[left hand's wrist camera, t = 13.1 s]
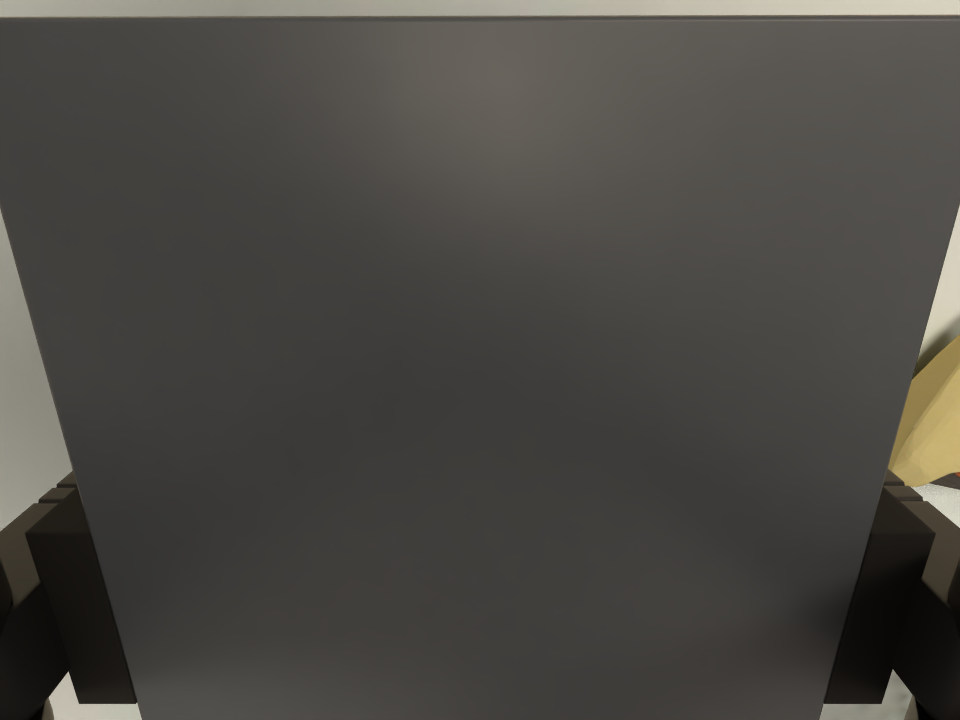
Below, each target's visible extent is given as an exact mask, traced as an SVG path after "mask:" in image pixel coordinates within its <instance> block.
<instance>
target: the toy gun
mask: <svg viewBox="0 0 960 720" xmlns="http://www.w3.org/2000/svg"><path fill="white" fill-rule="evenodd" d="M888 469H889V470H890V471H892V472H893V473H894V474H895V475H896V476H898V477H899V478H900V479H901V480H902V481H904V484H905V485H906V486H910V487H918V486H922V485H925V484H927V483H931V484H935V485H940V486H945V487H950V488H955V489H960V335H958V336H957V337H956V338H955V339H954V340H953V341H952V342H950V343H949V344H948V345H947V346H946V347H945V348H944V349H943V350H942V351H941V352H939V353H938V354H937V355H936V356H935V357H934V358H933V359H932V360H931V361H930V362H929V363H928V364H927V365H926V366H925V367H924V368H923V369H922V370H921V371H920V372H919V373H918V374H917V375H916V376H915V377H914V378H913V380H912V381H911V385H910V388H909V392H908V396H907V399H906V403H905V407H904V410H903V414H902V418H901V421H900V425H899V429H898V432H897V436H896V440H895V443H894V447H893V451H892V454H891V458H890V462H889V465H888Z"/></svg>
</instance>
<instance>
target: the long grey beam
mask: <svg viewBox="0 0 960 720" xmlns="http://www.w3.org/2000/svg"><path fill="white" fill-rule="evenodd" d="M959 205H960V15H664V16H221V17H0V209H1V212H2V216H3V219H4V223H5V227H6V230H7V234H8V237H9V241H10V245H11V248H12V252H13V256H14V259H15V263H16V266H17V270H18V274H19V277H20V281H21V284H22V288H23V292H24V295H25V299H26V302H27V306H28V310H29V313H30V317H31V320H32V324H33V328H34V331H35V335H36V339H37V342H38V346H39V349H40V353H41V357H42V360H43V364H44V367H45V371H46V375H47V378H48V382H49V385H50V389H51V393H52V396H53V400H54V403H55V407H56V411H57V414H58V418H59V422H60V425H61V429H62V432H63V436H64V440H65V443H66V447H67V450H68V454H69V458H70V461H71V465H72V468H73V472H74V476H75V479H76V483H77V486H78V490H79V494H80V497H81V501H82V505H83V508H84V512H85V515H86V519H87V523H88V526H89V530H90V533H91V537H92V541H93V544H94V548H95V551H96V555H97V559H98V562H99V566H100V569H101V573H102V577H103V580H104V584H105V588H106V591H107V595H108V598H109V602H110V606H111V609H112V613H113V616H114V620H115V624H116V627H117V631H118V634H119V638H120V642H121V645H122V649H123V652H124V656H125V660H126V663H127V667H128V670H129V674H130V678H131V681H132V685H133V689H134V692H135V696H136V699H137V703H138V707H139V710H140V714H141V717H142V720H819V718H820V715H821V711H822V707H823V704H824V700H825V696H826V693H827V689H828V685H829V682H830V678H831V674H832V671H833V667H834V663H835V660H836V656H837V652H838V649H839V645H840V641H841V638H842V634H843V630H844V627H845V623H846V619H847V616H848V612H849V608H850V605H851V601H852V597H853V594H854V590H855V586H856V583H857V579H858V575H859V572H860V568H861V564H862V561H863V557H864V553H865V550H866V546H867V542H868V539H869V535H870V531H871V528H872V524H873V520H874V517H875V513H876V509H877V506H878V502H879V498H880V495H881V491H882V487H883V484H884V480H885V476H886V473H887V469H888V465H889V462H890V458H891V454H892V451H893V447H894V443H895V440H896V436H897V432H898V429H899V425H900V421H901V418H902V414H903V410H904V407H905V403H906V399H907V396H908V392H909V388H910V385H911V381H912V377H913V374H914V370H915V366H916V363H917V359H918V355H919V352H920V348H921V344H922V341H923V337H924V333H925V330H926V326H927V322H928V319H929V315H930V311H931V308H932V304H933V300H934V297H935V293H936V289H937V286H938V282H939V278H940V275H941V271H942V267H943V264H944V260H945V256H946V253H947V249H948V245H949V242H950V238H951V234H952V231H953V227H954V223H955V220H956V216H957V212H958V209H959Z"/></svg>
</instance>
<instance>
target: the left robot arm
mask: <svg viewBox="0 0 960 720" xmlns="http://www.w3.org/2000/svg"><path fill="white" fill-rule="evenodd" d="M892 669H893V670H894V671H895V672H896V673H897V675H898V676H899V677H900V679H901V680H902V681H903V683H904V684H905V685H906V687H907V688H908V689H909V690H910V692H911V693H912V694H913V695H912V698H911V701H910V704H909V707H908V710H907V713H906V716H905V719H904V720H960V528H959V527H958V526H957V525H955V524H954V523H953V522H952V521H951V520H949V519H948V518H947V517H946V516H945V515H943V514H942V513H941V512H940V511H939V510H937V509H936V508H935V507H934V506H932V505H931V504H930V503H929V502H928V501H923V497H922V496H920V495H919V494H918V493H917V492H916V491H914V490H913V489H912V488H911V487H910V486H905V484H904V481H902V480H901V479H900V478H899V477H898V476H896V475H895V474H894V473H893V472H892V471H890V470H889V469H887V473H886V476H885V480H884V484H883V487H882V491H881V495H880V498H879V502H878V506H877V509H876V513H875V517H874V520H873V524H872V528H871V531H870V535H869V539H868V542H867V546H866V550H865V553H864V557H863V561H862V564H861V568H860V572H859V575H858V579H857V583H856V586H855V590H854V594H853V597H852V601H851V605H850V608H849V612H848V616H847V619H846V623H845V627H844V630H843V634H842V638H841V641H840V645H839V649H838V652H837V656H836V660H835V663H834V667H833V671H832V674H831V678H830V682H829V685H828V689H827V693H826V696H825V700H824V704H882V700H883V697H884V694H885V691H886V688H887V685H888V682H889V679H890V676H891V672H892ZM68 671H69V674H70V677H71V680H72V683H73V686H74V689H75V693H76V696H77V699H78V702H79V704H136V703H137V699H136V696H135V692H134V689H133V685H132V681H131V678H130V674H129V670H128V667H127V663H126V660H125V656H124V652H123V649H122V645H121V642H120V638H119V634H118V631H117V627H116V624H115V620H114V616H113V613H112V609H111V606H110V602H109V598H108V595H107V591H106V588H105V584H104V580H103V577H102V573H101V569H100V566H99V562H98V559H97V555H96V551H95V548H94V544H93V541H92V537H91V533H90V530H89V526H88V523H87V519H86V515H85V512H84V508H83V505H82V501H81V497H80V494H79V490H78V486H77V483H76V479H75V476H74V472H73V471H72V472H71V473H70V474H69V475H67V476H66V477H65V478H64V479H63V480H61V481H60V482H59V483H58V484H57V487H56V488H52V489H51V490H49V491H48V492H47V493H46V494H45V495H44V496H42V497H41V498H40V499H39V502H38V504H33V505H32V506H30V507H29V508H28V509H27V510H26V511H24V512H23V513H22V514H21V515H20V516H18V517H17V518H16V519H15V520H14V521H13V522H11V523H10V524H9V525H8V526H7V527H5V528H4V529H3V530H2V531H1V532H0V720H54V715H53V710H52V707H51V704H50V701H49V698H48V697H49V696H50V695H51V693H52V692H53V691H54V689H55V688H56V687H57V685H58V684H59V683H60V681H61V680H62V679H63V678H64V676H65V675H66V674H67V672H68Z"/></svg>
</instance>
